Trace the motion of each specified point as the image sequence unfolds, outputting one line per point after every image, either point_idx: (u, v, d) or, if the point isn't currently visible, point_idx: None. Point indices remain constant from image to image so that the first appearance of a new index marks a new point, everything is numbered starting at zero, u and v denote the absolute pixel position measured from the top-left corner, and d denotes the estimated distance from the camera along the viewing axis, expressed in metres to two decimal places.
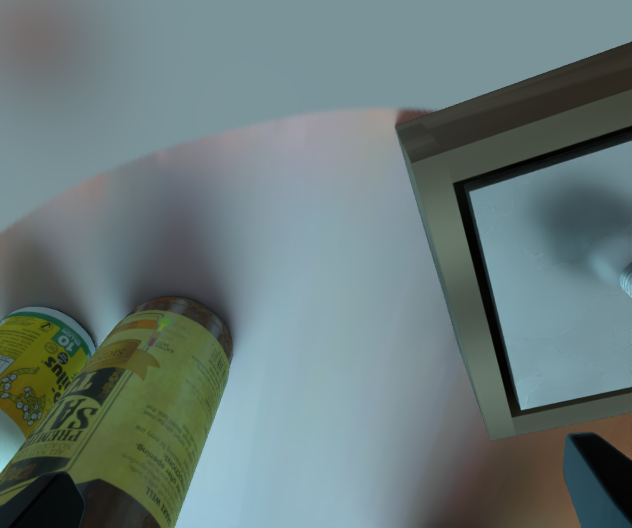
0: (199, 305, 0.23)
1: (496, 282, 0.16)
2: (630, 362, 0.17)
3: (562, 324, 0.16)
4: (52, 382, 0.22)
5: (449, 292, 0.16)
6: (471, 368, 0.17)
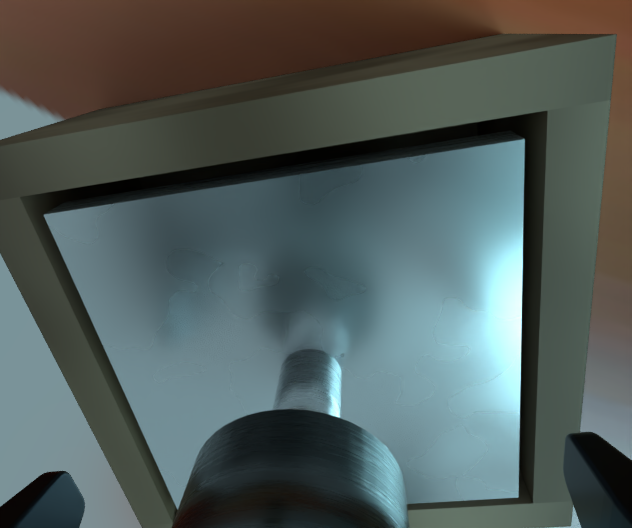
0: None
1: None
2: (467, 380, 0.10)
3: None
4: None
5: None
6: None
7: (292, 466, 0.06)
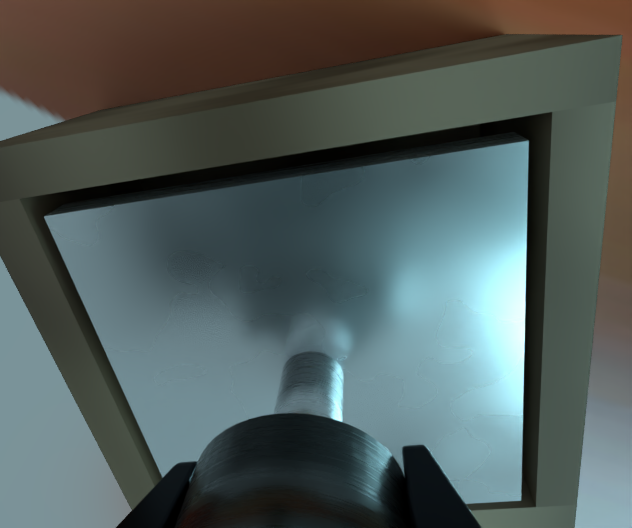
0: None
1: None
2: (470, 383, 0.10)
3: None
4: None
5: None
6: None
7: (294, 470, 0.06)
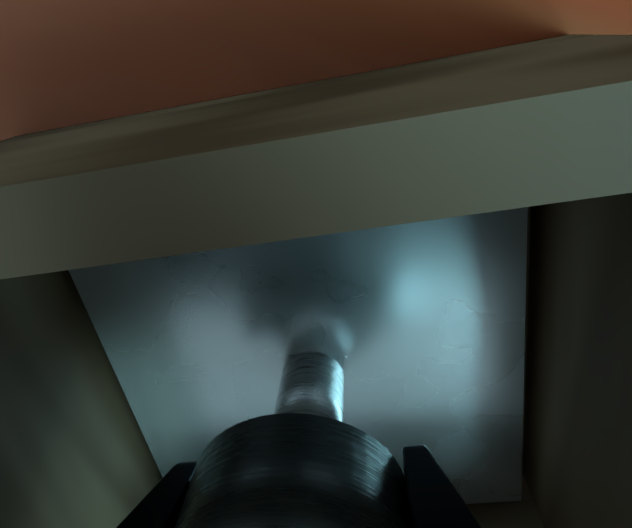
0: None
1: None
2: (470, 383, 0.10)
3: None
4: None
5: None
6: None
7: (294, 471, 0.06)
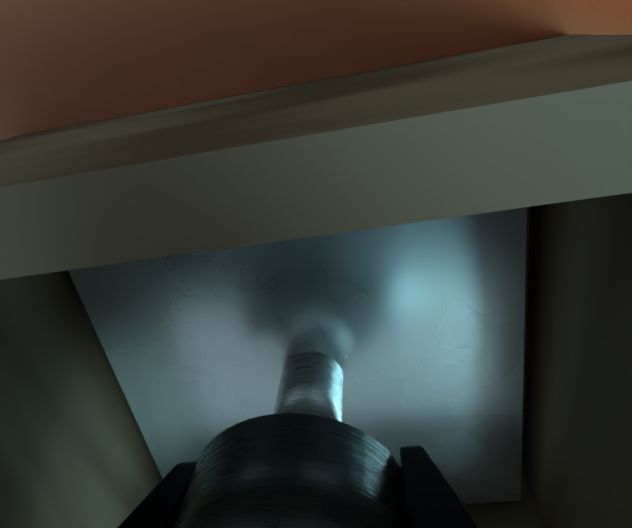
0: None
1: None
2: (469, 383, 0.10)
3: None
4: None
5: None
6: None
7: (293, 471, 0.06)
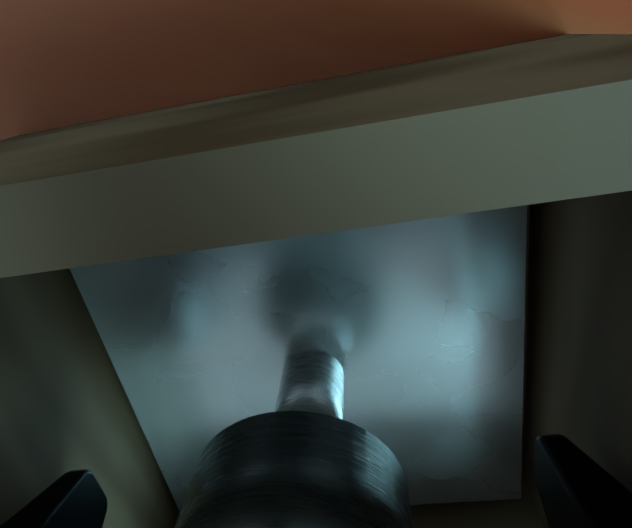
0: None
1: None
2: (470, 381, 0.10)
3: None
4: None
5: None
6: None
7: (294, 468, 0.06)
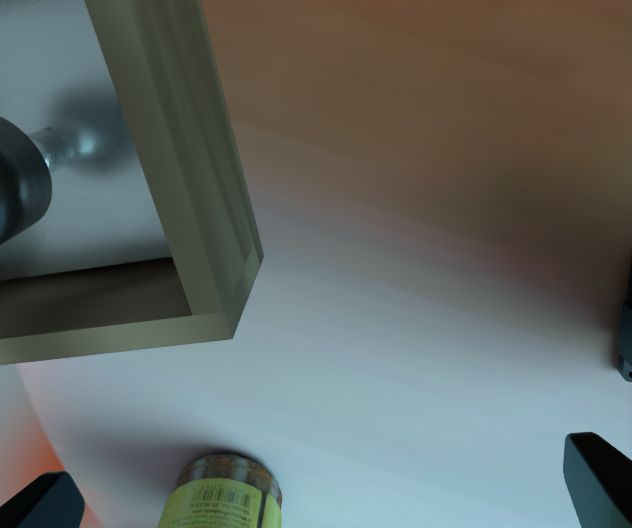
0: (184, 469, 0.25)
1: (68, 266, 0.18)
2: None
3: (106, 215, 0.17)
4: None
5: (22, 361, 0.15)
6: (117, 350, 0.15)
7: None
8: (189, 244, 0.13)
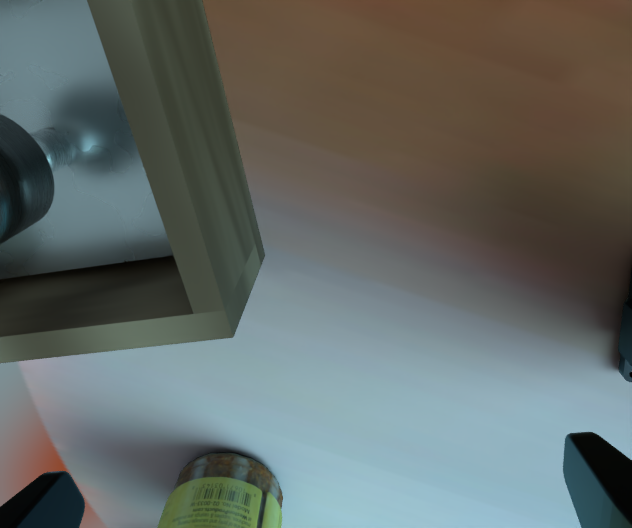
0: (184, 467, 0.25)
1: (70, 265, 0.18)
2: None
3: (108, 214, 0.17)
4: None
5: (24, 359, 0.16)
6: (118, 348, 0.15)
7: None
8: (190, 243, 0.13)
